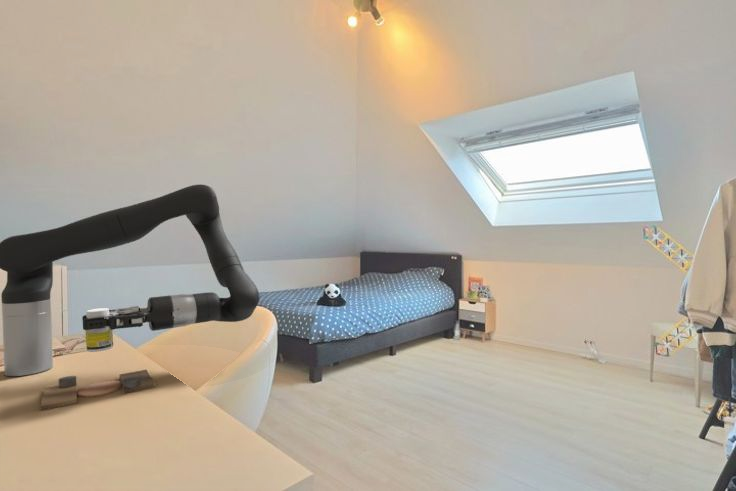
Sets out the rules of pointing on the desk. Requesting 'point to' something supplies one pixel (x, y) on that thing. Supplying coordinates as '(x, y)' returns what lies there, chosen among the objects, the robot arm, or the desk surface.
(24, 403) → the desk surface
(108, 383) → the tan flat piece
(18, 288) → the robot arm
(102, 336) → the supplement bottle
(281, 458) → the desk surface
